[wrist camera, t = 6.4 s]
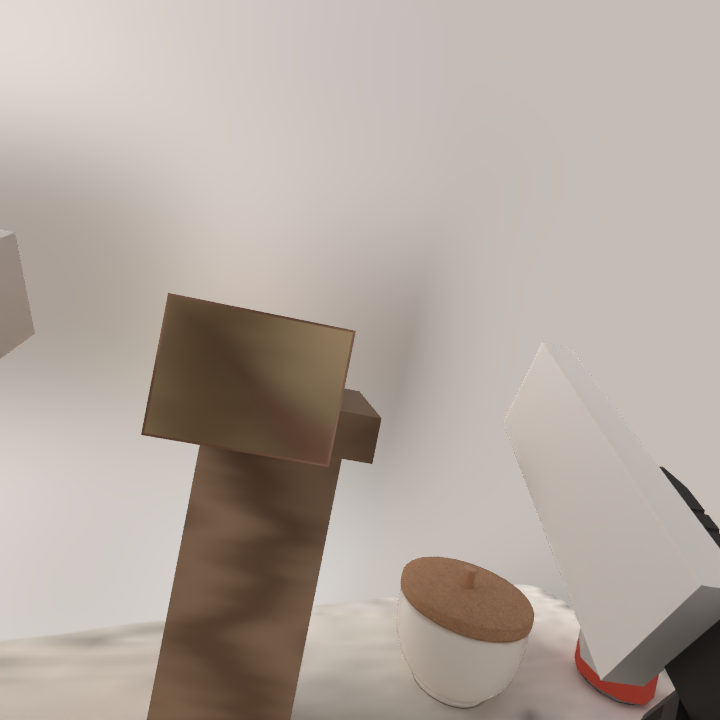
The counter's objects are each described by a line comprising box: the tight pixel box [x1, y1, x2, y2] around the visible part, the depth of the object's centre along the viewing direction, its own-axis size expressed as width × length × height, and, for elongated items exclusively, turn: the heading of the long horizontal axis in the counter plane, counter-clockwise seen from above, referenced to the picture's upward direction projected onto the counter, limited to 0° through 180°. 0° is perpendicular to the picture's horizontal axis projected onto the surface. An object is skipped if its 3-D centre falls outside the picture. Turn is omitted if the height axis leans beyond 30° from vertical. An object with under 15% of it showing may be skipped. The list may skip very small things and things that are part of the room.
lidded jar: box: [397, 557, 534, 708], centre depth 37 cm, size 11×11×9 cm
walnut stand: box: [147, 389, 381, 720], centre depth 24 cm, size 9×11×22 cm
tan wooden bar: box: [141, 293, 355, 467], centre depth 22 cm, size 4×24×3 cm, turn 5°
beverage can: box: [575, 628, 659, 705], centre depth 41 cm, size 6×6×12 cm
